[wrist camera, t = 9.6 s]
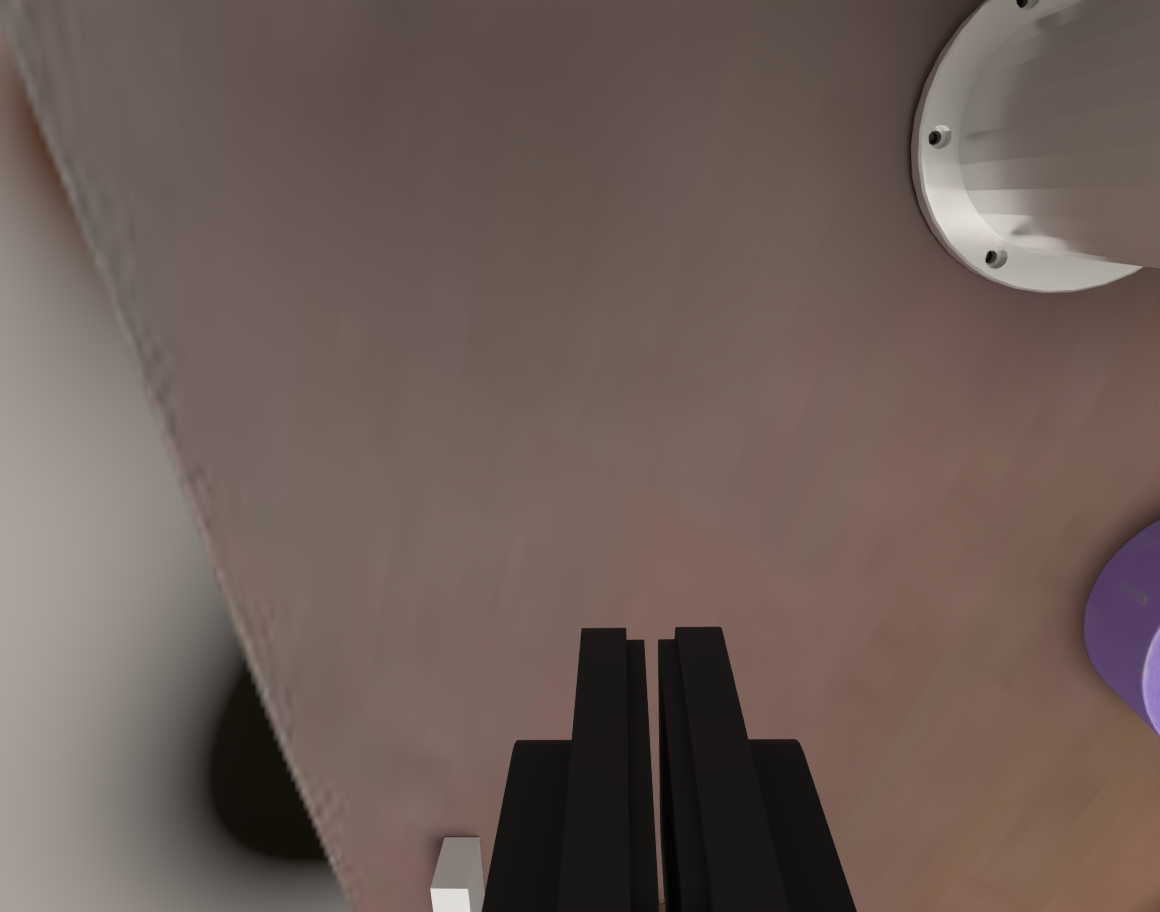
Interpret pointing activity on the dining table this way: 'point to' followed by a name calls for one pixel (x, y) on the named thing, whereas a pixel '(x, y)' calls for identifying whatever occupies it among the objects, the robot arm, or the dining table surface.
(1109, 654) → the tape roll
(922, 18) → the dining table surface
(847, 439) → the dining table surface
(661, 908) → the pin
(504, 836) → the robot arm
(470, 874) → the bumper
